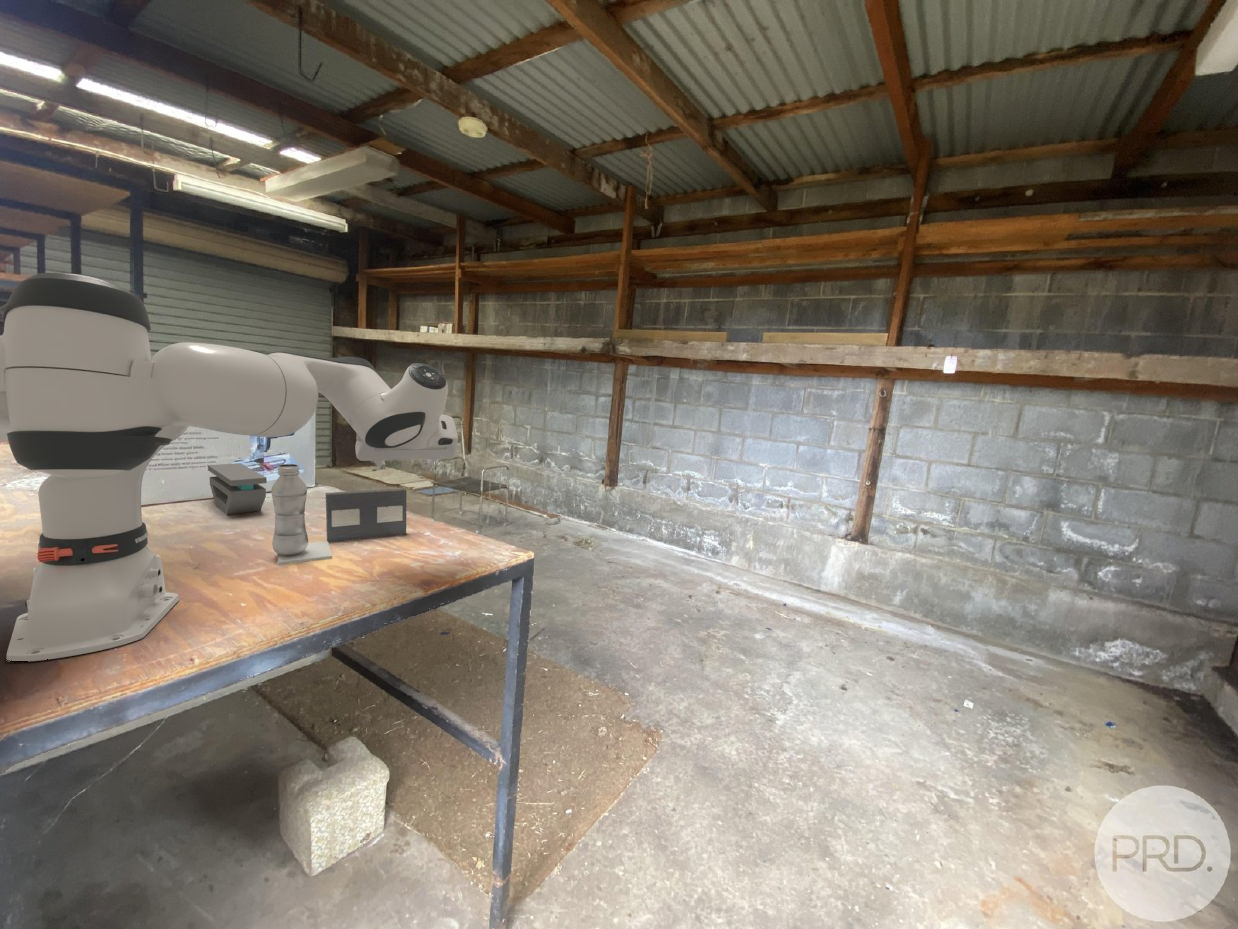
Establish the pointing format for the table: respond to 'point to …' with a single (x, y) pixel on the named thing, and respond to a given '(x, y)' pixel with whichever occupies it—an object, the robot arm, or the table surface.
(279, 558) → the rubber pad
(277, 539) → the plastic bottle
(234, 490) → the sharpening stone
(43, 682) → the table surface
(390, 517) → the panel
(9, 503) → the table surface
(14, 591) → the table surface
